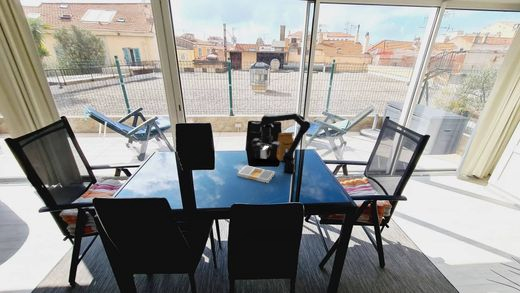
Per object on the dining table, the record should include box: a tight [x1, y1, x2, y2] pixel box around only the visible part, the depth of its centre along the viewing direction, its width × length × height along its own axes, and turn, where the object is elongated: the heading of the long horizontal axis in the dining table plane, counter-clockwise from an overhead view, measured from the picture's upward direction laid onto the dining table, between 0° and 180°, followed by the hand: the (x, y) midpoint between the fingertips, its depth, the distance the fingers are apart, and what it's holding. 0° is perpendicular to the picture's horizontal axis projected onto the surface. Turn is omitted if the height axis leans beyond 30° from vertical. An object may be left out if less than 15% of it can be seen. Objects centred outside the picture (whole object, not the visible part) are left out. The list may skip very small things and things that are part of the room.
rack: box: [237, 164, 276, 184], centre depth 146 cm, size 22×12×2 cm, turn 67°
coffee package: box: [276, 131, 294, 162], centre depth 166 cm, size 10×12×22 cm
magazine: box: [251, 144, 270, 160], centre depth 169 cm, size 4×13×15 cm, turn 95°
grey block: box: [260, 145, 271, 160], centre depth 150 cm, size 4×8×6 cm, turn 156°
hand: (265, 154), depth 151 cm, fingers closed on grey block, 4 cm apart
